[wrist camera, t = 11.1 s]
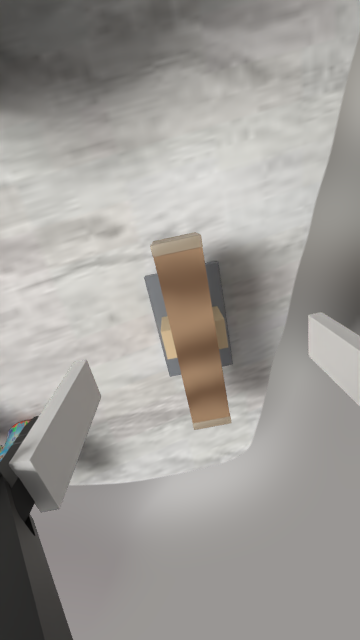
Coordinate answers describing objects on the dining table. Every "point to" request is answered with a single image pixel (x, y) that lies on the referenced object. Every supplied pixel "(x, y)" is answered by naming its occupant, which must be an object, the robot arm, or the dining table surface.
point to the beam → (192, 326)
